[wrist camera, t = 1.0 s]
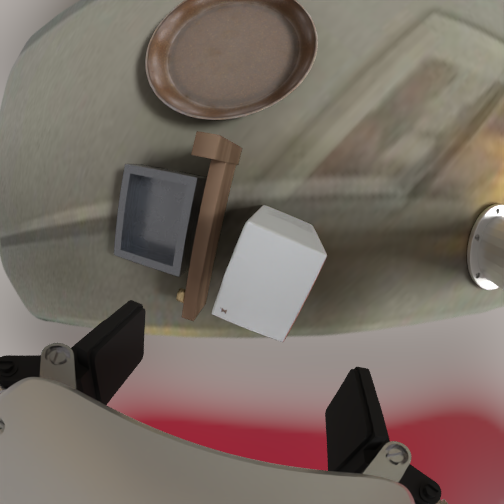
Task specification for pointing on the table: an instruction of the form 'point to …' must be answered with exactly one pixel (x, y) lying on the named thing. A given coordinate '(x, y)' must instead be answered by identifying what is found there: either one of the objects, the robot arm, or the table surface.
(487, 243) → the robot arm
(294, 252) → the small box
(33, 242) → the table surface
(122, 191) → the gray square tray
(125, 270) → the table surface
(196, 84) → the plant saucer
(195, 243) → the brown l-shaped wood piece
